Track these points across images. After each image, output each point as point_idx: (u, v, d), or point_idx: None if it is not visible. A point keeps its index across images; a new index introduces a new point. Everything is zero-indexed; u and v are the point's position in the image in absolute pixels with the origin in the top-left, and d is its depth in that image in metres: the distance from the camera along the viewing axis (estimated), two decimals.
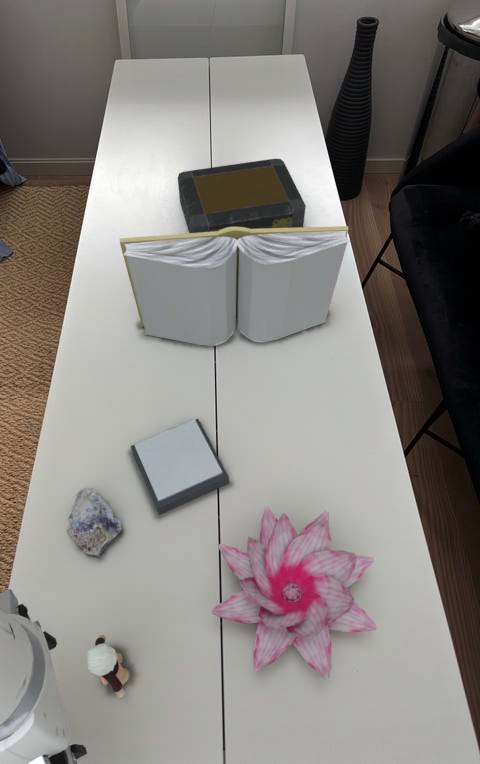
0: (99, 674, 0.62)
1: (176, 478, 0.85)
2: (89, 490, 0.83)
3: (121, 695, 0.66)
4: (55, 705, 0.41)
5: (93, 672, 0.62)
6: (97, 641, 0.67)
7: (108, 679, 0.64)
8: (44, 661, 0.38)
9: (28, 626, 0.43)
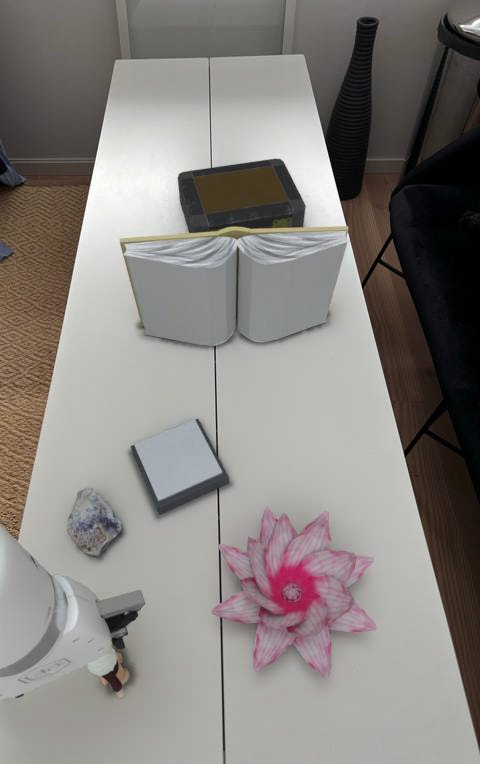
0: (99, 674, 0.62)
1: (176, 478, 0.85)
2: (89, 490, 0.83)
3: (121, 695, 0.66)
4: None
5: (93, 672, 0.62)
6: None
7: (108, 679, 0.64)
8: None
9: None
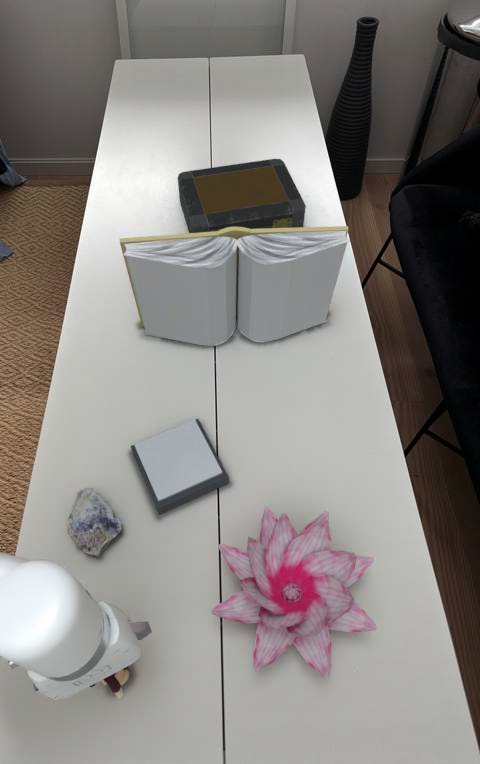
0: None
1: (176, 478, 0.85)
2: (89, 490, 0.83)
3: (120, 696, 0.65)
4: None
5: None
6: None
7: (106, 680, 0.64)
8: None
9: None
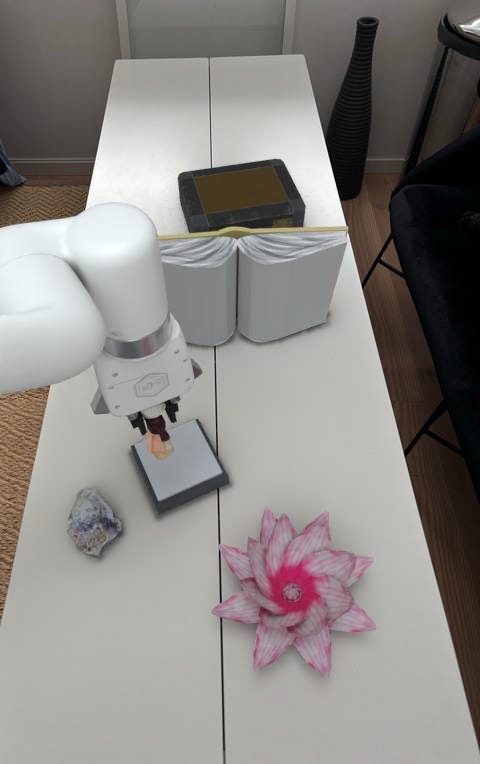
0: (149, 414, 0.65)
1: (176, 478, 0.85)
2: (89, 490, 0.83)
3: (169, 447, 0.68)
4: None
5: (144, 411, 0.65)
6: None
7: (157, 427, 0.67)
8: None
9: None
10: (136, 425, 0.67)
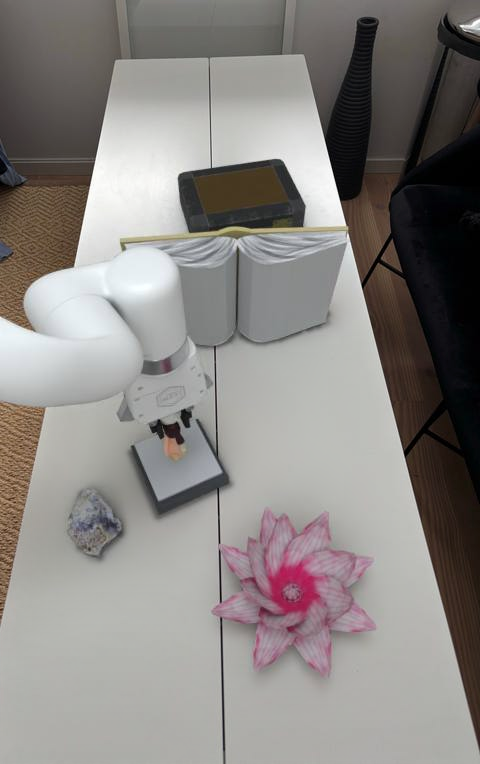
0: (167, 421, 0.74)
1: (176, 478, 0.85)
2: (89, 490, 0.83)
3: (184, 449, 0.78)
4: None
5: (162, 418, 0.74)
6: None
7: (173, 432, 0.76)
8: None
9: None
10: (155, 430, 0.76)
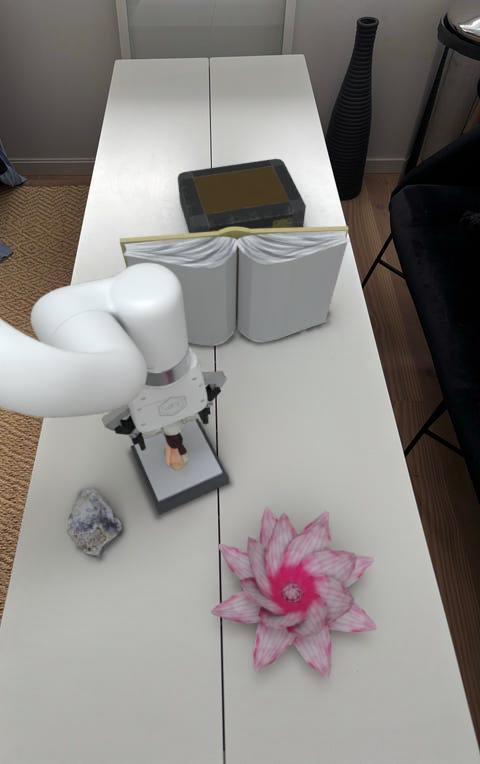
0: (171, 432, 0.77)
1: (176, 478, 0.85)
2: (89, 490, 0.83)
3: (186, 459, 0.80)
4: None
5: (166, 430, 0.77)
6: None
7: (176, 443, 0.79)
8: None
9: None
10: (136, 442, 0.76)
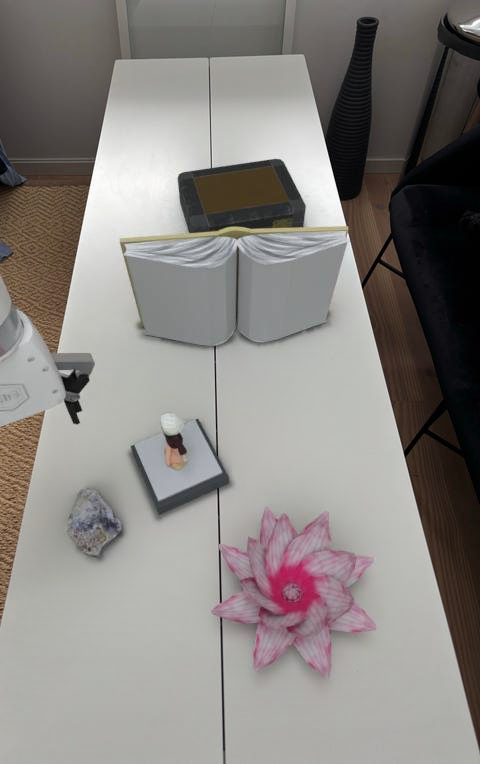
0: (171, 432, 0.77)
1: (176, 478, 0.85)
2: (89, 490, 0.83)
3: (186, 459, 0.80)
4: None
5: (166, 430, 0.77)
6: None
7: (176, 443, 0.79)
8: None
9: None
10: None
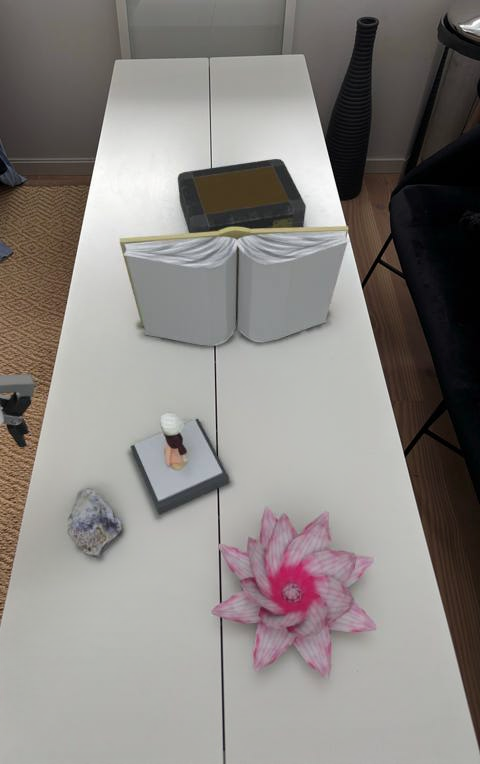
0: (171, 432, 0.77)
1: (176, 478, 0.85)
2: (89, 490, 0.83)
3: (186, 459, 0.80)
4: None
5: (166, 430, 0.77)
6: None
7: (176, 443, 0.79)
8: None
9: None
10: None
